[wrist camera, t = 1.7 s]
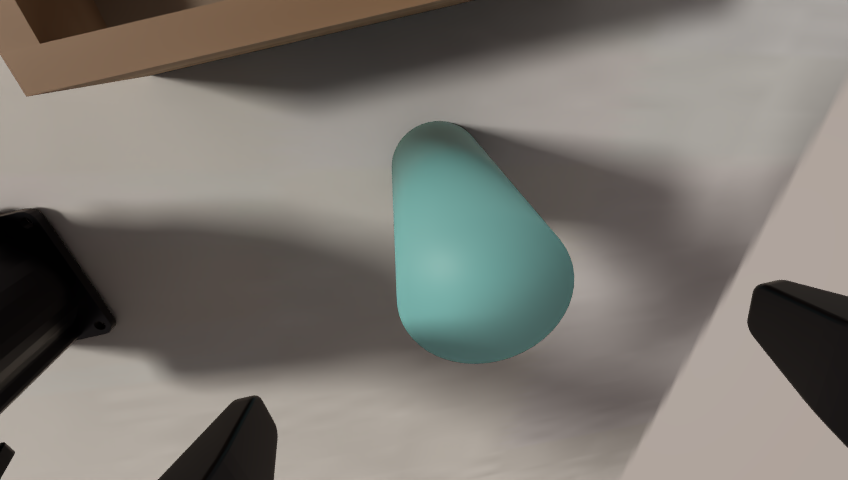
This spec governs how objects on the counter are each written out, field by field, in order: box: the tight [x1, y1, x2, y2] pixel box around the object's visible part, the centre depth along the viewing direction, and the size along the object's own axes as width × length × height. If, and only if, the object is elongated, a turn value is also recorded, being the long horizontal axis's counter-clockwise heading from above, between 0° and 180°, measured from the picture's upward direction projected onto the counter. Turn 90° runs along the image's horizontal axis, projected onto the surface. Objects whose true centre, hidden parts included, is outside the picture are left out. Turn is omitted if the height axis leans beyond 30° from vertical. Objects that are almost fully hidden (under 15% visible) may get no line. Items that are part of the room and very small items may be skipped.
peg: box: [392, 121, 574, 364], centre depth 14 cm, size 4×4×10 cm
